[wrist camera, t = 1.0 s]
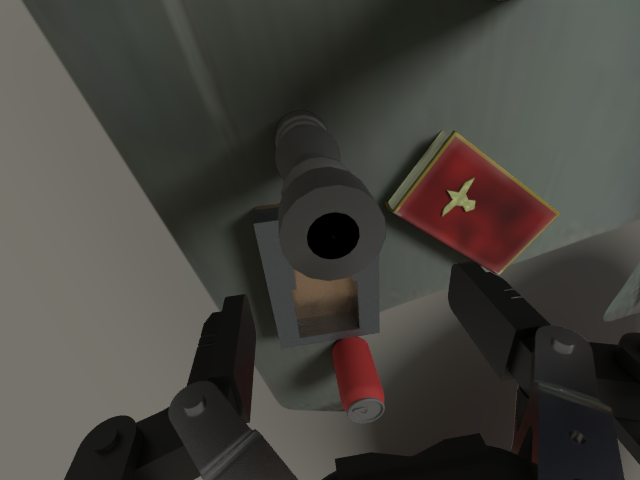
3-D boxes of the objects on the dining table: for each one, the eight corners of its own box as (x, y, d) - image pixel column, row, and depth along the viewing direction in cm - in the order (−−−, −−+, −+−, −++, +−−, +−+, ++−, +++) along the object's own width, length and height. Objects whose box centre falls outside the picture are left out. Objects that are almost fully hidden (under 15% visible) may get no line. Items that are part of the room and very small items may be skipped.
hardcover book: (482, 262, 52) (498, 278, 48) (382, 202, 44) (392, 215, 41) (540, 202, 48) (562, 214, 44) (440, 125, 40) (456, 131, 37)
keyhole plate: (368, 191, 43) (378, 206, 39) (370, 310, 53) (379, 332, 49) (255, 207, 42) (253, 223, 38) (280, 324, 52) (281, 348, 48)
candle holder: (312, 171, 41) (355, 297, 19) (266, 150, 39) (255, 264, 17) (335, 124, 38) (413, 208, 17) (287, 100, 36) (305, 158, 15)
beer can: (335, 333, 55) (349, 397, 44) (371, 335, 56) (393, 397, 46) (328, 360, 58) (339, 426, 48) (362, 361, 59) (381, 425, 49)
